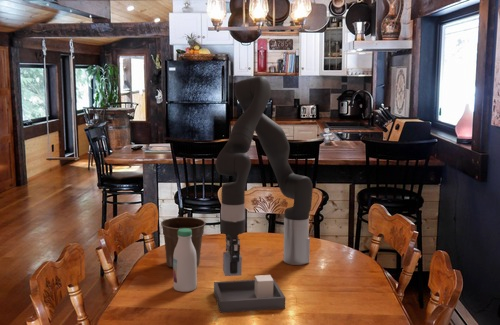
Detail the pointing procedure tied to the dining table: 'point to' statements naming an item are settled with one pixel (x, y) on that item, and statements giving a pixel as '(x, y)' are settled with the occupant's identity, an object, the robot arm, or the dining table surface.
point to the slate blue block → (227, 264)
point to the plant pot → (171, 235)
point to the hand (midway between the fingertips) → (232, 269)
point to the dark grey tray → (245, 297)
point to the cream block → (263, 286)
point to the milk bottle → (184, 262)
